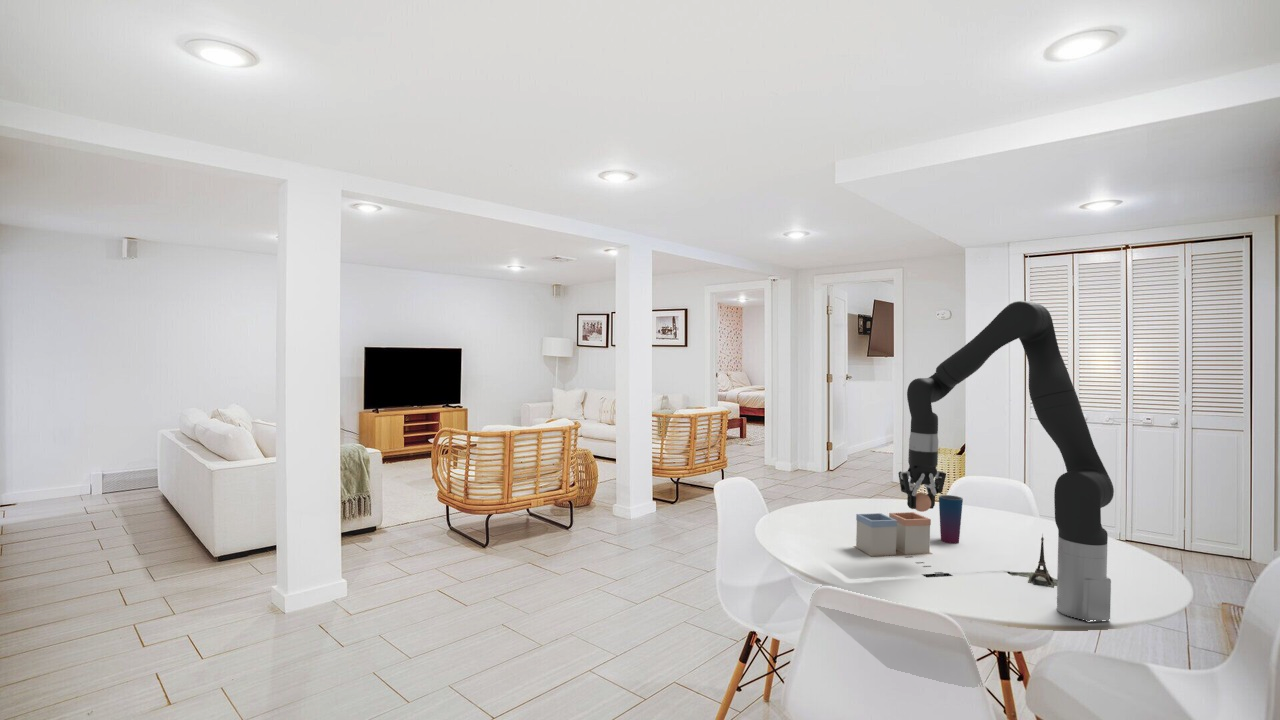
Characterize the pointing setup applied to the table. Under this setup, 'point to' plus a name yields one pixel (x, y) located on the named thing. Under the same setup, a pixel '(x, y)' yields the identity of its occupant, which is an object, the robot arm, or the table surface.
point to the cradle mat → (934, 572)
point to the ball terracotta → (922, 502)
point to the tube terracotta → (912, 533)
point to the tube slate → (876, 534)
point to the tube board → (893, 555)
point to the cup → (950, 518)
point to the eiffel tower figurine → (1038, 572)
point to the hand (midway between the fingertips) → (920, 507)
